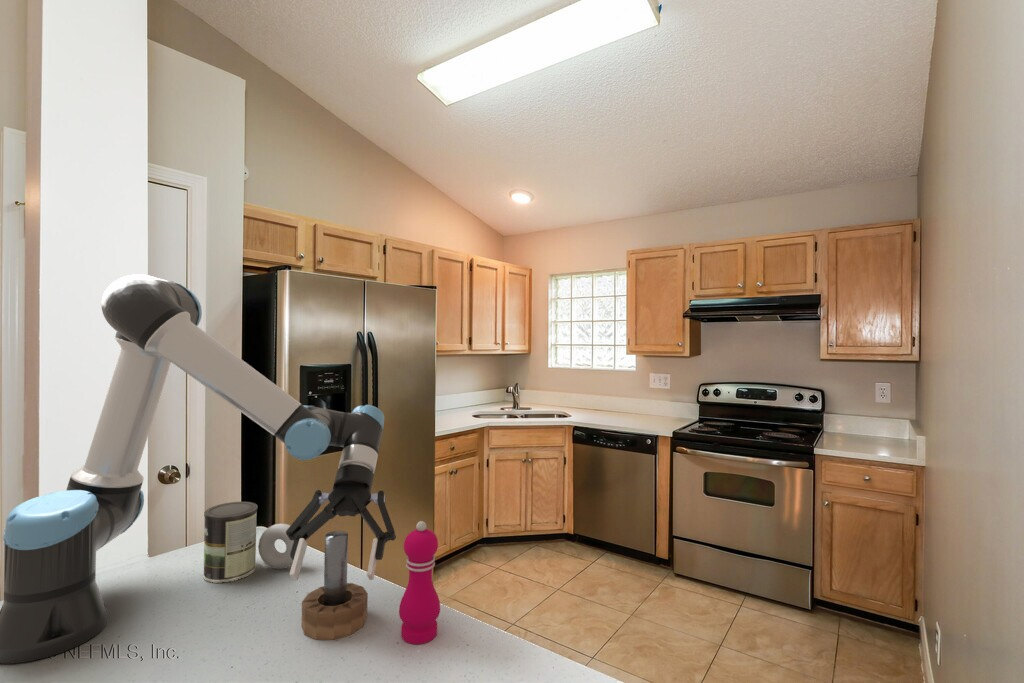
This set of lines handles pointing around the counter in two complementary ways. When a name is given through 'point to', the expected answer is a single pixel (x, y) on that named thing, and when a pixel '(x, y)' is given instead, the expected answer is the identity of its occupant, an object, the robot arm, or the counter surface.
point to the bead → (334, 614)
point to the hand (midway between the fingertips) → (331, 577)
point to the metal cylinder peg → (335, 568)
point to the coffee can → (230, 541)
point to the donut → (269, 550)
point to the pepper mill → (420, 588)
